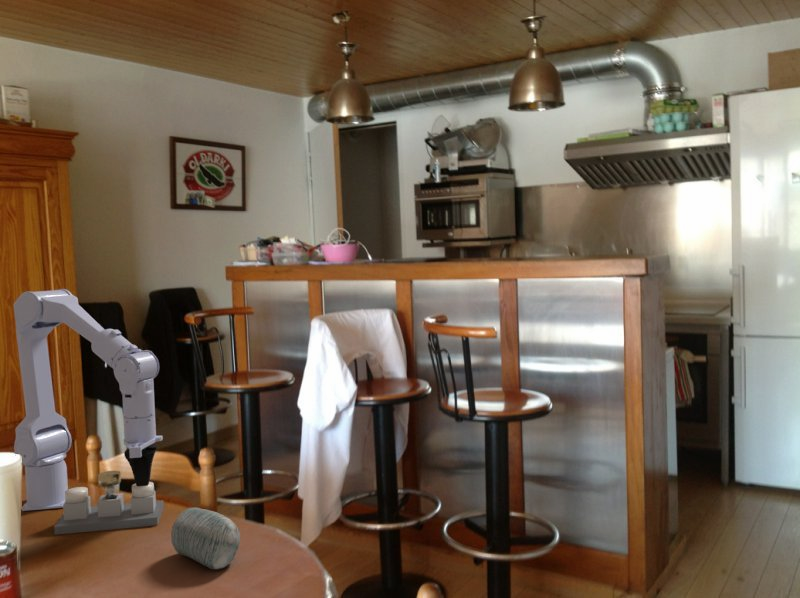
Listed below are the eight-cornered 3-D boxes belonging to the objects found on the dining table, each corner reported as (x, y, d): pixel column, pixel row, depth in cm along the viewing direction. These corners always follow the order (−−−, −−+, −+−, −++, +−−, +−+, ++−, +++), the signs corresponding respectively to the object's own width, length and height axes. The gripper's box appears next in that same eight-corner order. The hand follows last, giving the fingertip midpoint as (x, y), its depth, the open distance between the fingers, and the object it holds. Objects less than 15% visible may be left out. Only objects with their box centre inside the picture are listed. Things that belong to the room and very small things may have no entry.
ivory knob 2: (134, 506, 147) (133, 482, 147) (156, 505, 148) (154, 480, 148) (131, 513, 143) (130, 488, 143) (153, 511, 144) (152, 487, 144)
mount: (67, 516, 148) (66, 493, 147) (163, 507, 151) (162, 485, 151) (54, 534, 138) (53, 510, 138) (157, 525, 141) (156, 501, 141)
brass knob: (101, 496, 146) (100, 471, 146) (123, 494, 147) (121, 470, 146) (97, 502, 142) (95, 477, 142) (119, 500, 143) (118, 475, 142)
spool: (150, 538, 126) (179, 485, 127) (196, 548, 132) (224, 497, 133) (182, 584, 116) (214, 525, 117) (231, 592, 122) (261, 537, 123)
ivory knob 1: (68, 512, 145) (67, 488, 145) (91, 510, 146) (89, 486, 145) (63, 519, 141) (62, 494, 141) (86, 517, 142) (85, 492, 141)
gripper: (156, 422, 138) (160, 495, 139) (165, 406, 152) (168, 472, 153) (115, 424, 137) (119, 498, 138) (128, 408, 151) (131, 475, 152)
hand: (142, 485), depth 145 cm, fingers closed, pressing on ivory knob 2
